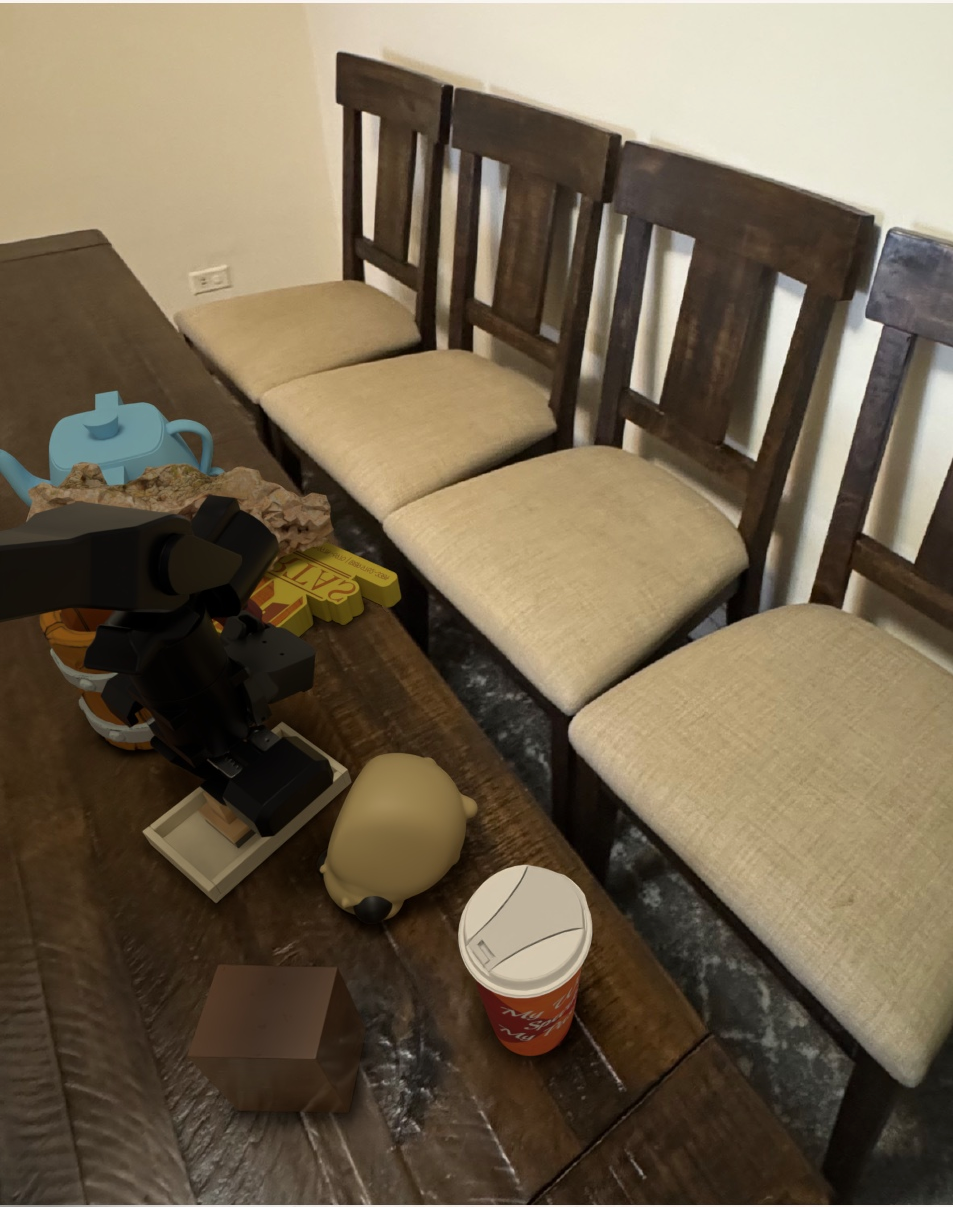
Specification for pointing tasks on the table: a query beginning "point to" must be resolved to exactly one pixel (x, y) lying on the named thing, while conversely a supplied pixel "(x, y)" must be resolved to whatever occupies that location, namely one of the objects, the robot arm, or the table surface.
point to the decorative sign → (321, 588)
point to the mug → (69, 645)
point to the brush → (225, 821)
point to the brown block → (280, 1038)
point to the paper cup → (527, 954)
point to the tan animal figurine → (394, 835)
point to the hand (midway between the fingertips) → (246, 797)
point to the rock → (197, 499)
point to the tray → (210, 852)
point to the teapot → (113, 445)
